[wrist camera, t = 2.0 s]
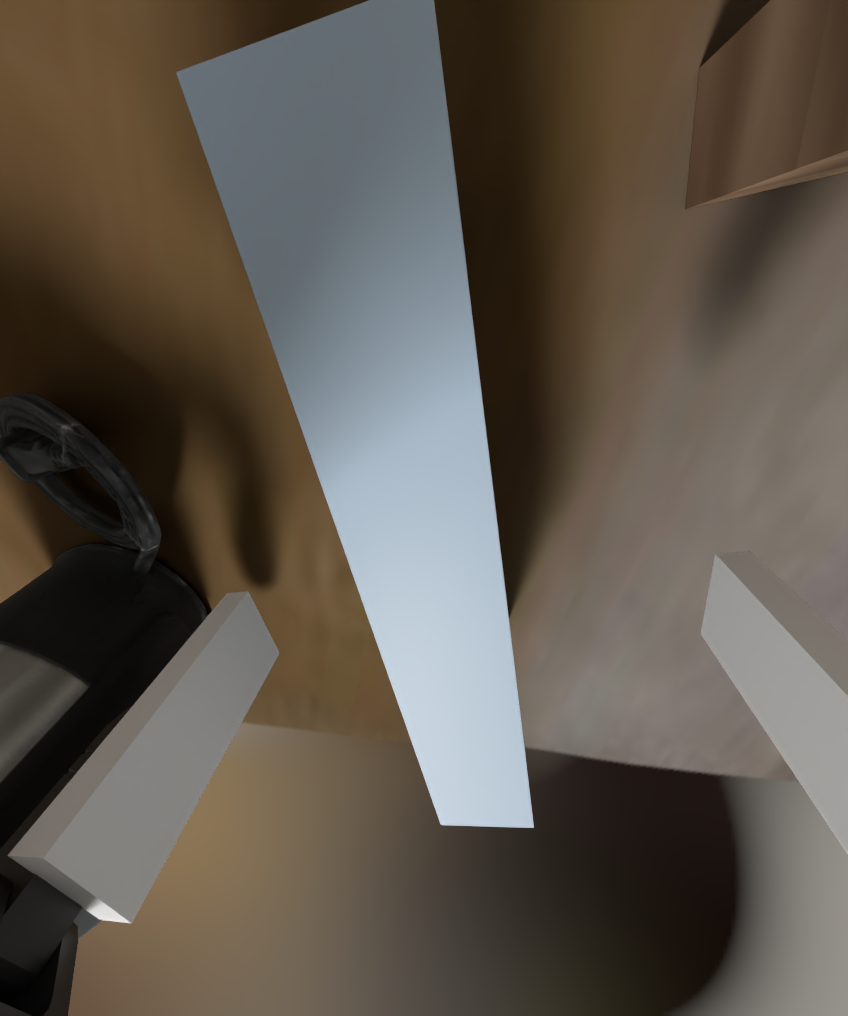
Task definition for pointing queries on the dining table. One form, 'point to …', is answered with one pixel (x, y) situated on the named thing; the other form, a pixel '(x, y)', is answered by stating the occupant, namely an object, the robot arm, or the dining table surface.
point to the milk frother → (78, 614)
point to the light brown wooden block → (773, 103)
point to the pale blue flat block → (381, 360)
